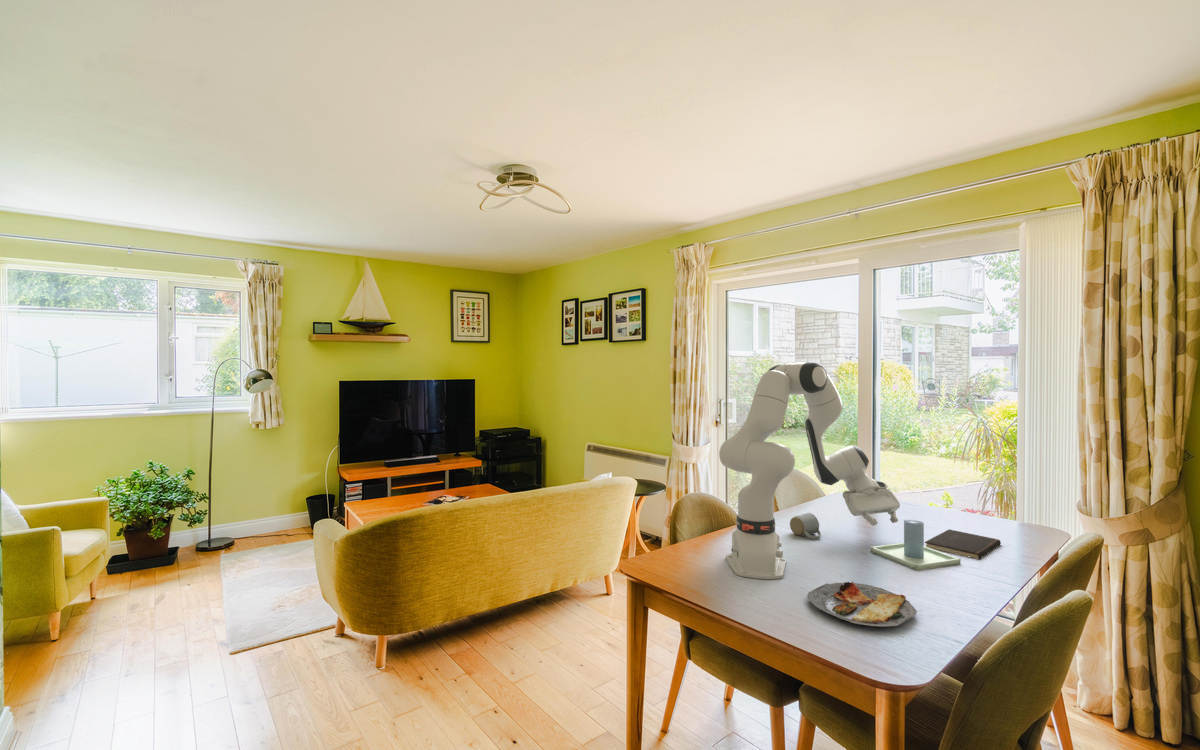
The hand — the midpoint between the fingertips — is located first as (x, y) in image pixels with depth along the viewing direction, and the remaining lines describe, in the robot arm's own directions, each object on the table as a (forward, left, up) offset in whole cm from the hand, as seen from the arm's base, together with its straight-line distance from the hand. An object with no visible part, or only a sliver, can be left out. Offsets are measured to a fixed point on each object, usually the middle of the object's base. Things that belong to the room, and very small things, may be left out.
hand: (885, 523), depth 184 cm
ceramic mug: (+8, +24, -9) cm, 27 cm away
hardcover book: (+7, -27, -9) cm, 29 cm away
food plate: (-53, +21, -9) cm, 58 cm away
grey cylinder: (-9, -6, -8) cm, 13 cm away
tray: (-9, -6, -8) cm, 14 cm away
